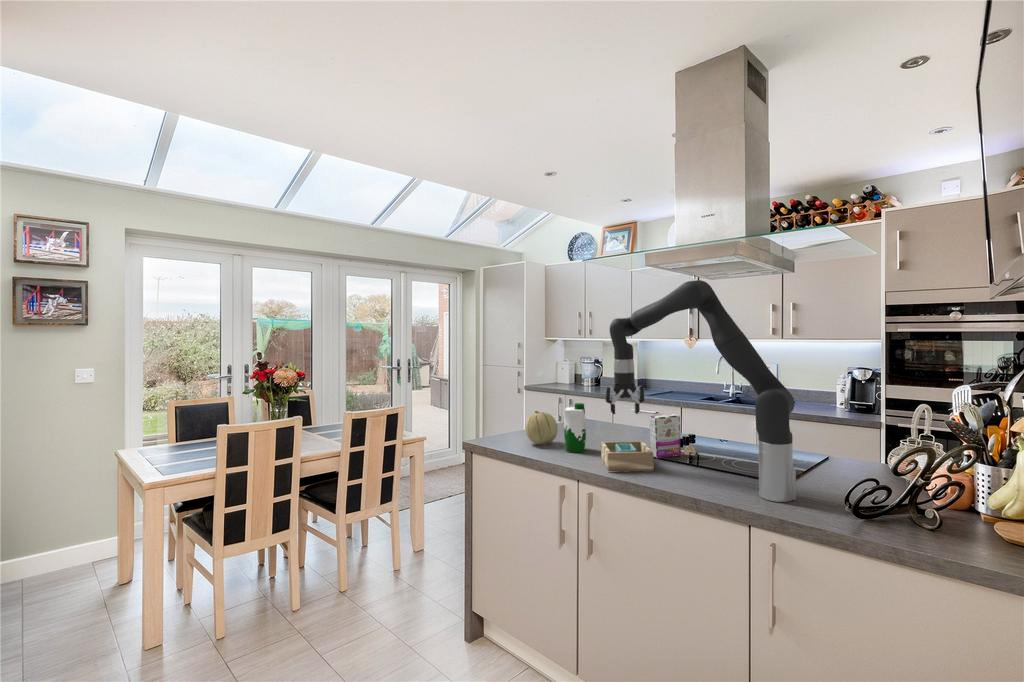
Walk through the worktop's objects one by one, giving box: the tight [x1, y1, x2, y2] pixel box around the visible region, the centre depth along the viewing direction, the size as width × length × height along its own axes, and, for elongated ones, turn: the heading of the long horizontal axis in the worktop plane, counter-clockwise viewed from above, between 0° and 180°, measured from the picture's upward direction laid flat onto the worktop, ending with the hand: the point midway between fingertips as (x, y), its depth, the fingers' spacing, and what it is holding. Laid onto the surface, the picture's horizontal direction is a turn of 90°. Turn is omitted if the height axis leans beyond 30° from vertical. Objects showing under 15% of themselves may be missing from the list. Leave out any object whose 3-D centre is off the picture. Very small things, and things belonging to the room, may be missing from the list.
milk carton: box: [563, 402, 587, 453], centre depth 220 cm, size 9×9×20 cm
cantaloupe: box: [525, 410, 559, 445], centre depth 233 cm, size 15×15×15 cm
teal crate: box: [615, 444, 636, 452], centre depth 196 cm, size 10×6×6 cm, turn 178°
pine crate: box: [600, 440, 655, 472], centre depth 196 cm, size 17×16×7 cm
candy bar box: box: [649, 413, 682, 459], centre depth 207 cm, size 11×5×16 cm, turn 105°
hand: (625, 413), depth 195 cm, fingers open, 8 cm apart
